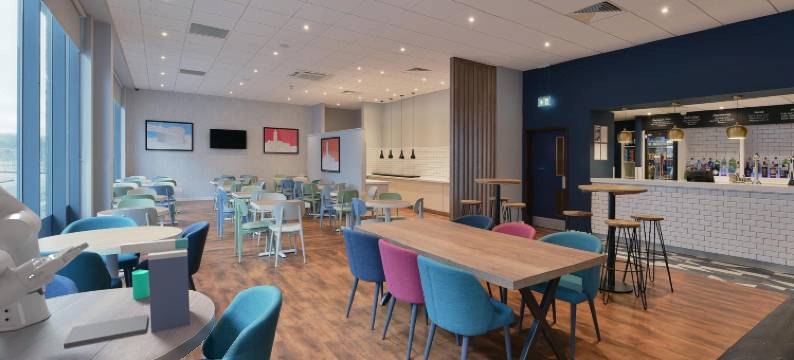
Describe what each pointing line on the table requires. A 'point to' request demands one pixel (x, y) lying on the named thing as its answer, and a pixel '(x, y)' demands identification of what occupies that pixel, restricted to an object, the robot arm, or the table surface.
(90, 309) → the table surface
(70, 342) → the board
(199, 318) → the table surface
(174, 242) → the white and teal box
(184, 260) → the tall slate-blue pillar
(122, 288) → the table surface
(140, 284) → the candle
